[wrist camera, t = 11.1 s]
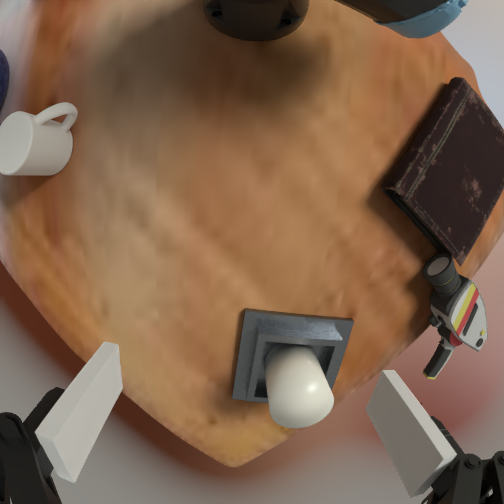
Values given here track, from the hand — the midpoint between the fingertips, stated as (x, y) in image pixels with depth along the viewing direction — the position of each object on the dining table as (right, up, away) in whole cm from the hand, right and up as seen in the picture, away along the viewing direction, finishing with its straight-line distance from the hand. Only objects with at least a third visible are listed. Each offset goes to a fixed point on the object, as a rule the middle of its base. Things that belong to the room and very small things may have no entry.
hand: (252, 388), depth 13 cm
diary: (+32, +20, +24) cm, 45 cm away
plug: (+6, -10, +29) cm, 31 cm away
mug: (-29, +23, +22) cm, 43 cm away
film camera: (+31, -4, +30) cm, 43 cm away
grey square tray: (+6, -10, +30) cm, 32 cm away
